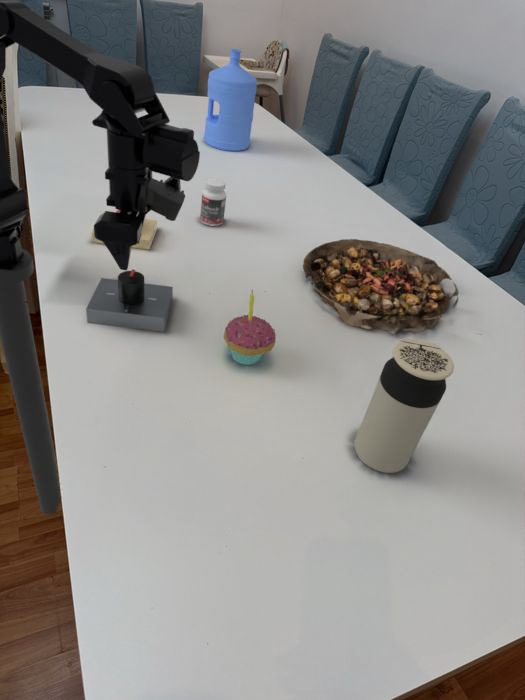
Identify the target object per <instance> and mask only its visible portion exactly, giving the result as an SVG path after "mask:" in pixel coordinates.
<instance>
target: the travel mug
mask: <svg viewBox="0 0 525 700" xmlns="http://www.w3.org/2000/svg"><path fill="white" fill-rule="evenodd" d="M392 355H393V357H391V358H389V359H388V360H387V361H386V362H385V363H384V365H383V368H382V370H381V373H380V375H379V378H378V380H377V383H376V386H375V388H374V391H373V393H372V396H371V398H370V401H369V403H368V406H367V408H366V410H365V413H364V416H363V419H362V421H361V423H360V425H359V428H358V431H357V433H356V436H355V438H354V443H353V445H354V447H353V448H354V450H355V453H356V455H357V456H358V458H359V459H360V460H361V461H362V462H363V463H364V464H365V465H366V466H368V467H369V468H371V469H373V470H375V471H378V472H380V473H388V474H391V473H393V474H394V473H398V472H401V471H402V470H404V469H406V467H407V465H408V464H409V462H410V460H411V458H412V456H413V454H414V452H415V450H416V449H417V446H418V444H419V442H420V441H421V439H422V437H423V435H424V433H425V431H426V429H427V427H428V425H429V423H430V422H431V420H432V418H433V415H434V414H435V412H436V410H437V408H438V406H439V404H440V402H441V400H442V398H443V397H444V394H445V393H446V390H447V381H446V379H447V378H450V377H451V375H452V374H453V372H454V369H455V365H454V362H453V359H452V357H451V356H450V355H449V354H448V353H447V352H446V351H445V350H444V349H443V348H441V347H439V346H438V345H436V344H434V343H432V342H429V341H427V340H423V339H418V338H405V339H401V340H399V341H398V342H396V343H395V345H394V346H393V348H392Z"/></svg>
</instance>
